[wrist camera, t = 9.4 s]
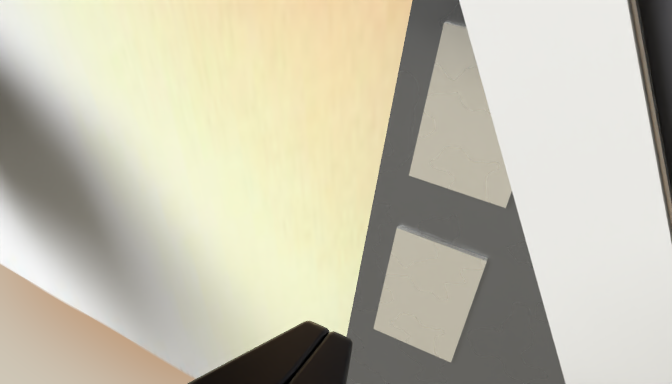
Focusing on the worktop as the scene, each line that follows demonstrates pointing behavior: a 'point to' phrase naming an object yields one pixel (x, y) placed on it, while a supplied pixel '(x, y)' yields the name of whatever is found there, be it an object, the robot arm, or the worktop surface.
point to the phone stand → (447, 232)
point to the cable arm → (588, 171)
